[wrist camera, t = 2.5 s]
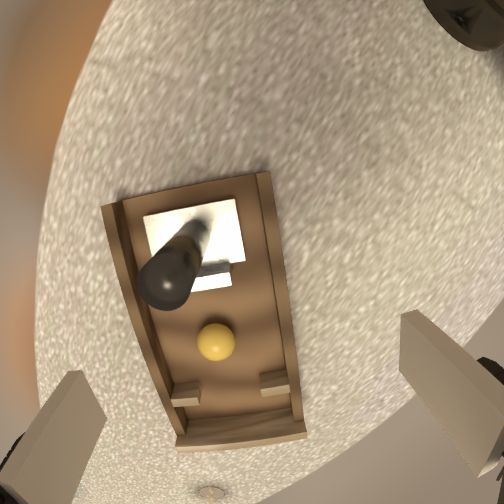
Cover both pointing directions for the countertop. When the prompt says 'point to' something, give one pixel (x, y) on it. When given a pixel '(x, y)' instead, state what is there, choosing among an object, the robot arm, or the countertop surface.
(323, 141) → the countertop surface
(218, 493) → the wineglass
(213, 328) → the ball
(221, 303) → the lane
